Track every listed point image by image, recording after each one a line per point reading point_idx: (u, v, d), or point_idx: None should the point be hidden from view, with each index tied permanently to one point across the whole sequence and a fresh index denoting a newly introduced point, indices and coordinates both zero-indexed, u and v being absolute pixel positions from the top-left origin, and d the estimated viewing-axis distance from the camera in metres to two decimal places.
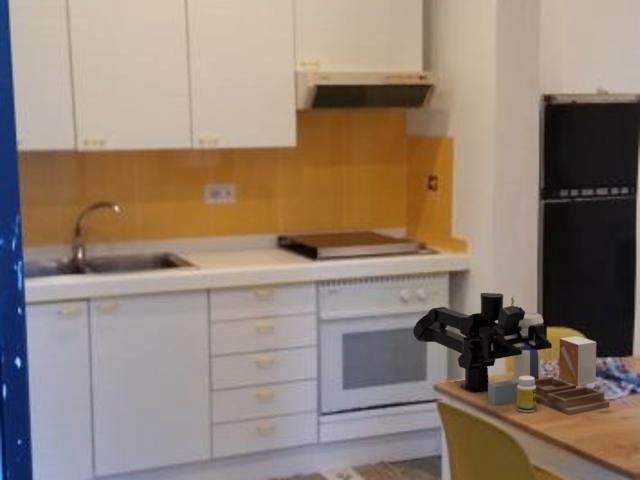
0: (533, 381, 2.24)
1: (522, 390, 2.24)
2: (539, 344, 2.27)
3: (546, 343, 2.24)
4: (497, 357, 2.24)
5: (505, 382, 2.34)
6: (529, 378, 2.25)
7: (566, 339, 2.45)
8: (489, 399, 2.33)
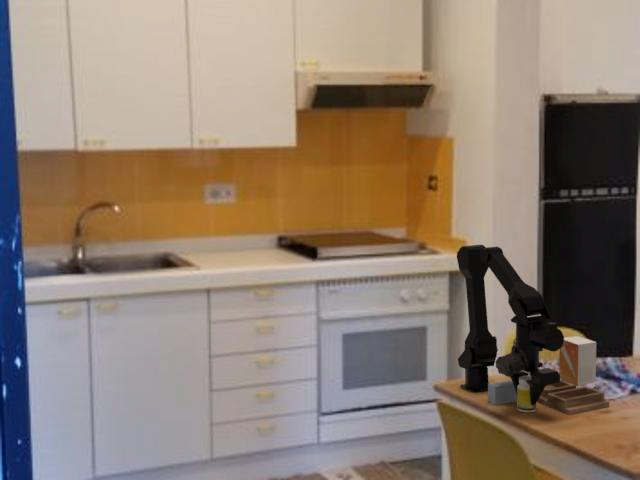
0: None
1: (522, 391, 2.23)
2: None
3: None
4: None
5: (505, 382, 2.34)
6: (529, 378, 2.25)
7: (566, 339, 2.45)
8: (489, 399, 2.33)
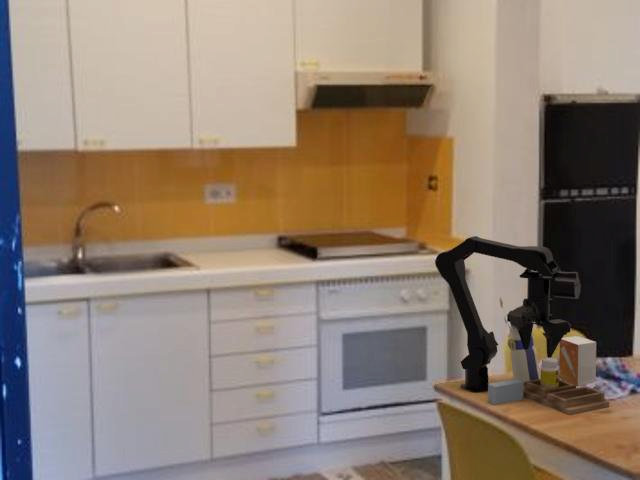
0: (556, 363, 2.35)
1: (546, 372, 2.35)
2: None
3: None
4: None
5: (505, 382, 2.34)
6: (552, 360, 2.36)
7: (566, 339, 2.45)
8: (489, 399, 2.33)
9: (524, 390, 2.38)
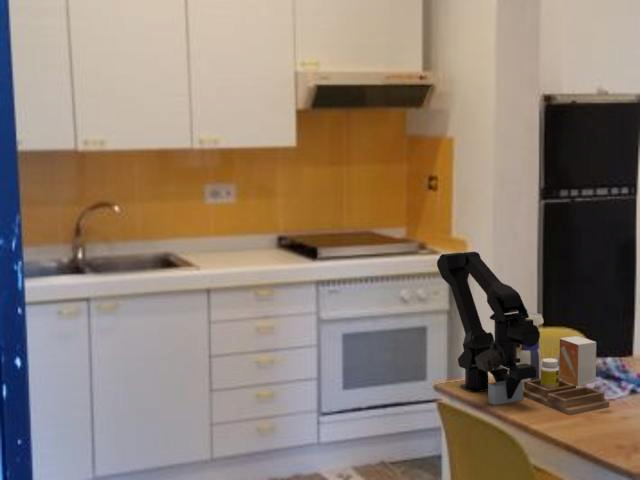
0: (556, 363, 2.35)
1: (546, 372, 2.35)
2: None
3: None
4: None
5: (505, 382, 2.33)
6: (552, 360, 2.36)
7: (566, 339, 2.45)
8: (489, 398, 2.33)
9: (524, 390, 2.38)
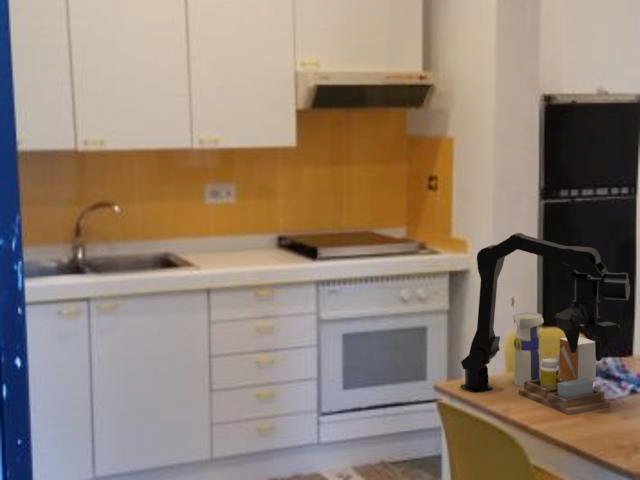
0: (556, 363, 2.35)
1: (546, 372, 2.35)
2: None
3: None
4: None
5: (575, 381, 2.28)
6: (552, 360, 2.36)
7: (566, 339, 2.45)
8: None
9: (524, 390, 2.38)
